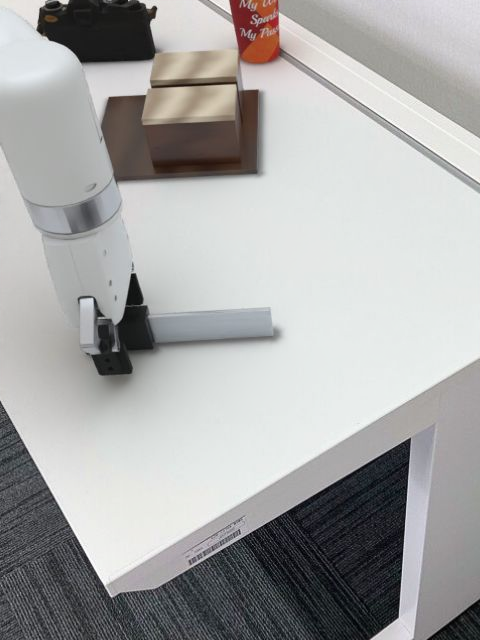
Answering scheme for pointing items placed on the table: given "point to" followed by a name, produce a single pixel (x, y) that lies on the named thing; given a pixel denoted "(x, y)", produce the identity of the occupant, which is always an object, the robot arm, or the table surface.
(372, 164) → the table surface
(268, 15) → the coffee cup
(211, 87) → the blocks on base plate
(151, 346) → the knife
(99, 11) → the film camera
